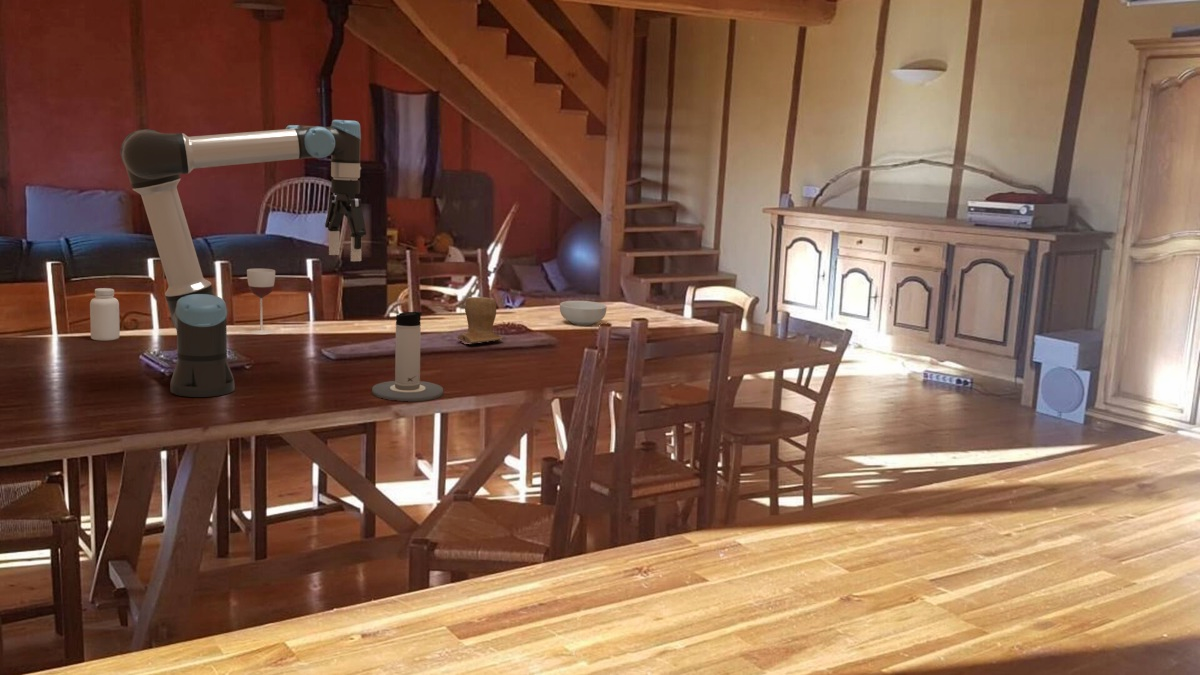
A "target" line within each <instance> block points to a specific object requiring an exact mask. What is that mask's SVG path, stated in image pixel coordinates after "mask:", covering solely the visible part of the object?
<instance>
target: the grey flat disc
mask: <svg viewBox="0 0 1200 675" xmlns="http://www.w3.org/2000/svg"><path fill="white" fill-rule="evenodd" d="M419 382H420V387H419V388H418V389H415V390H400V389H397V388H396V387H395V380H389V381H382V382H380V383H376V384H374V385H373V386H372V389H371V392H372V395H373V396H374V397H376V398H378V399H381V398H383V399H382V400H385V399H388V400H387V401H391V400H397V401H396V402H403V401H408V402H412V403H413V402H415V403H416V402H426V401H427V402H428V401H432V400H435V399H439V398H441V397H442V396H443V395H444V388H443V387H442V386H441V385H439V384H437V383H433V382H430V381H422V380H420V381H419Z"/></svg>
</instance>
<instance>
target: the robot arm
mask: <svg viewBox="0 0 1200 675" xmlns="http://www.w3.org/2000/svg"><path fill="white" fill-rule="evenodd" d="M361 143H362V133H361V124H360V123H359V121H358V120H357V121H356V120H347V119H346V120H345V119H333V120H332V121H331V124H330V126H317V125H316V126H315V125H301V124H297V125H296V124H295V125H294V124H291V125H290V124H288V125H287V126H286V127H285V129H284V128H283V129H273V130H260V131H257V130H256V131H248V132H246V131H245V132H234V133H233V132H232V133H221V134H208V135H197V136H196V135H195V136H188V135H186V133H183V132H180V133H179V132H178V133H165V132H164V133H163V132H158V131H156V130H152V129H147V128H146V129H138V130H136V131H133V132H131V133H130V134H128V136H127V137H125V139H124V140H123V142H122V144H121V148H120V157H121V159H122V160H121V161H122V163H123V165H124V167H125V169H126V173H127V176H128V179H129V183H130V186H131V188H132V191H134V192H136V193H137V194H139V195H141V199H142V202H143V206H144V210H145V213H146V215H147V216H146V217H147V219H148V222H149V226H150V229H151V233H152V236H153V239H154V242H155V245H156V248H157V253H158V255H159V258H160V262H161V265H162V269H163V271H164V275H165V277H166V282H167V285H168V287H167V289H166V291H165V293H164V296H165V299H166V302H167V307H168V309H169V313H170V319H171V323H172V325H173V326H174V328H175V330H176V352H177V354H176V357H177V358H176V359H177V360H176V364H175V367H174V370H173V373H172V377H171V379H170V383H169V384H170V388H169V389H170V393H171V394H173V395H176V396H181V397H188V398H189V397H191V398H211V397H212V398H213V397H218V396H224V395H228V394H231V393H233V392H234V391H235V388H236V387H235V379H234V375H233V373H232V370H231V368H230V364H229V362H228V355H227V353H228V348H227V346H228V342H227V340H228V339H227V332H228V330H227V317H228V309H227V303H226V302H225V300H224V299H223V298H221V297H220V296H217V295H215V292H214V288H213V285H212V282H211V281H209V280H207V279H206V278H204V275H203V272H202V268H201V266H200V261H199V258H198V256H197V251H196V249H195V245H194V243H193V238H192V236H191V231H190V228H189V225H188V221H187V218H186V216H185V215H186V214H185V211H184V209H183V205H182V202H181V198H180V195H179V191H178V188H177V186H178V185H179V182H180V181H181V180H182V178H181V176H180V175H184V174H190V173H191V172H192V171H193V170H194V169H201V168H202V169H203V168H204V169H205V168H214V167H222V166H223V167H224V166H232V165H233V166H235V165H246V164H256V163H266V162H267V163H268V162H269V163H270V162H277V161H287V160H288V161H289V160H300V159H301V160H302V159H303V160H304V159H312V158H315V159H323V158H326V157H329V156H331V162H330V164H331V165H330V167H331V168H330V177H332V179H331V181H330V183H331V184H330V185H331V186H330V188H331V189H330V190H331V193H332V194H330V198H329V206H328V211H327V216H326V220H325V223H324V224H325V225H324V227H325V228H327V230H328V255H329V256H339V255H340V237H341V236H340V231H341V228H340V226H341V223H342V221H343V218H344V217H345V218H346V219H347V222H348V224H349V228H350V230H351V234H350V262H361V261H362V242H363V241H362V240H363V237H364V236H366V235H367V230H366V224H365V219H364V215H363V210H362V199H361V198H356V195H359V194H360V193H361V181H360V180H358V179H360V177H361V170H362V167H361V145H362V144H361Z"/></svg>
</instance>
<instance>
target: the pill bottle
mask: <svg viewBox="0 0 1200 675" xmlns="http://www.w3.org/2000/svg"><path fill="white" fill-rule="evenodd" d="M94 296H95V297H93V298H91V300H90V302H89V314H90V315H89V319H90V320H89V321H90V322H89V323H90V338H91V339H92V340H94V341H99V342H100V341H101V342H102V341H103V342H107V341H116V340H119V339H120V335H121V334H120V332H121V331H120V302H119V300H118V299H117V298H116V297H114V296H115V289H113V288H109V287H103V288H102V287H100V288H95V289H94Z"/></svg>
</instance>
